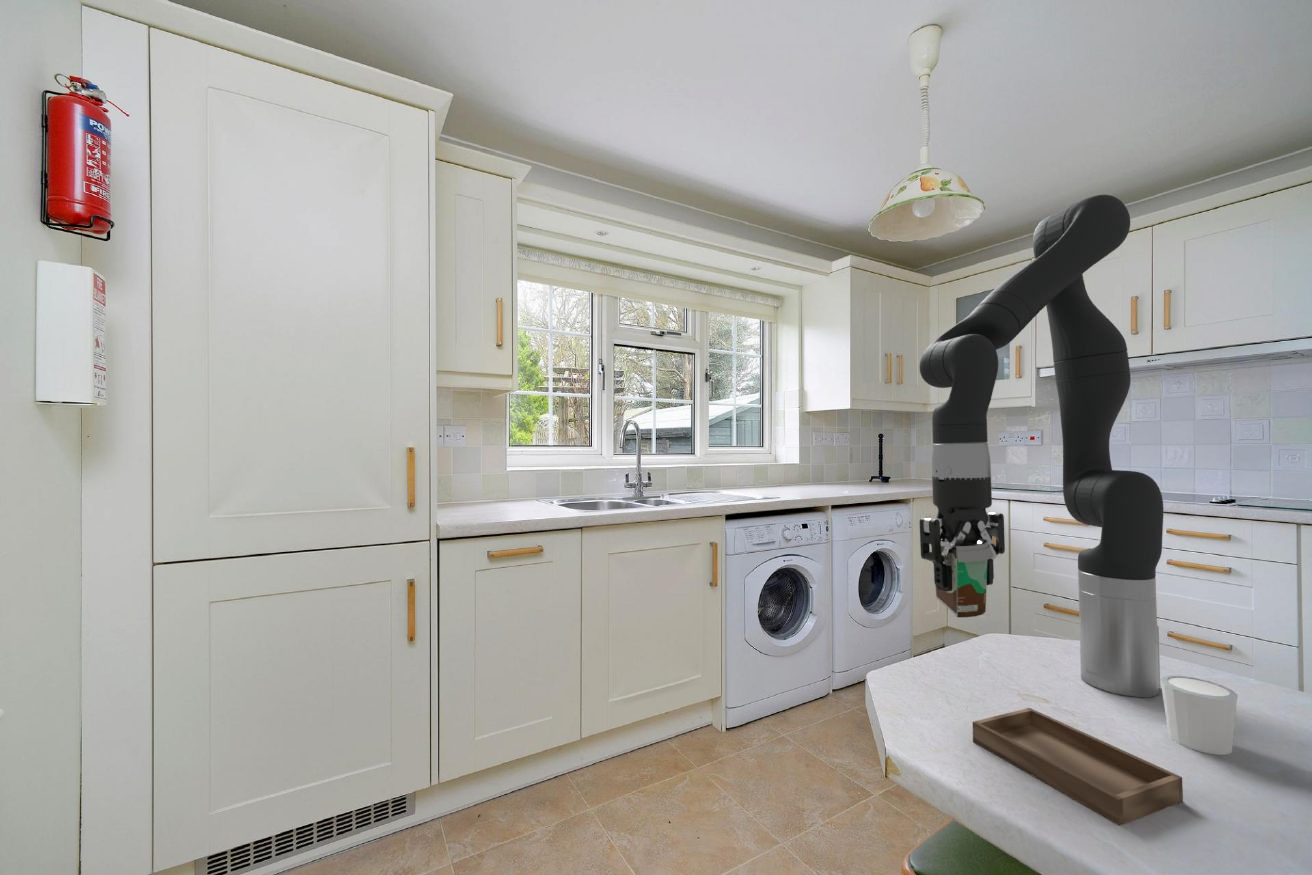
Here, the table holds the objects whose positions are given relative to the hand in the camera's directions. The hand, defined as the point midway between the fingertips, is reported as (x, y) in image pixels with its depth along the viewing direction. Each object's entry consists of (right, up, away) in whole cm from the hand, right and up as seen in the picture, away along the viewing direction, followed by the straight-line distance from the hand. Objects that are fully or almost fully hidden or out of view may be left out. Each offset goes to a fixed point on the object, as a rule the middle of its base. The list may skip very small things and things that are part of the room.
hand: (964, 586), depth 79 cm
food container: (+1, -3, 0) cm, 3 cm away
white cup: (+23, -17, -11) cm, 30 cm away
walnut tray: (+3, -17, -16) cm, 23 cm away
